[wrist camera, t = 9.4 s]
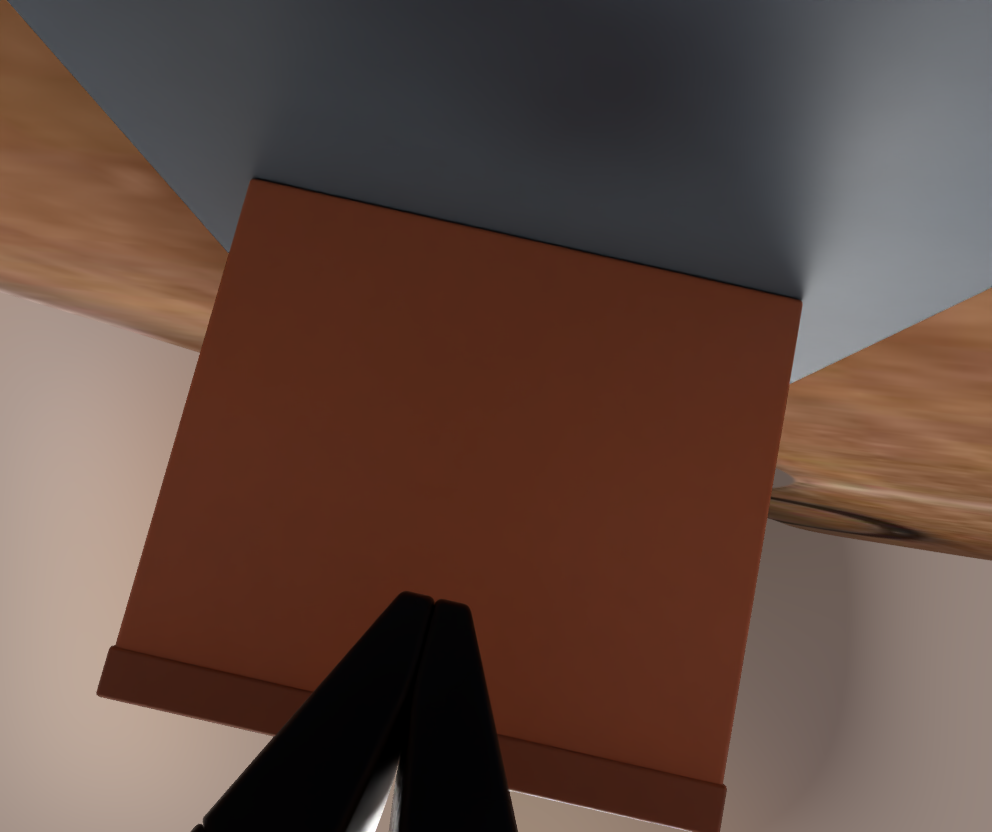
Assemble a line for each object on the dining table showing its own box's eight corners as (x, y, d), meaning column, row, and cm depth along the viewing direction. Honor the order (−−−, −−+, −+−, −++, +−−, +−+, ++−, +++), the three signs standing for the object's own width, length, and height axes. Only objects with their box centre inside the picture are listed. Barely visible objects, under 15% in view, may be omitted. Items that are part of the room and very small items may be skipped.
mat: (-543, -666, 5) (-557, -638, 4) (1840, -148, 4) (1842, -116, 4) (317, 348, 29) (316, 354, 29) (682, 430, 29) (681, 436, 29)
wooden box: (245, 173, 14) (93, 696, 12) (809, 298, 14) (720, 839, 12) (361, 356, 28) (296, 610, 26) (640, 418, 28) (589, 677, 26)
